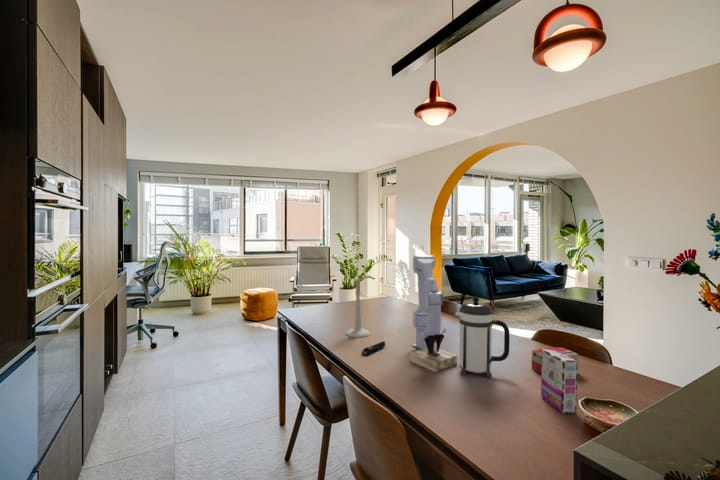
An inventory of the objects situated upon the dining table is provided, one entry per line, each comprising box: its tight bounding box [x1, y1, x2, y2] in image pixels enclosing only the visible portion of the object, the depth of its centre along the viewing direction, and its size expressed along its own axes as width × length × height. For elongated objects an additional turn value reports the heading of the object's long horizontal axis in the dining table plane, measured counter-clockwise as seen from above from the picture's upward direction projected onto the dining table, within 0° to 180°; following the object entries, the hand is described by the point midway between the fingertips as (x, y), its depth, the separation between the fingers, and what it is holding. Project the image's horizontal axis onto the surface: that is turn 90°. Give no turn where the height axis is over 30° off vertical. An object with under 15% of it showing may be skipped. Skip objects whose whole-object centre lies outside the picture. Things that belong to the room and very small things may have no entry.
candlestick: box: [345, 278, 371, 339], centre depth 185 cm, size 13×13×30 cm
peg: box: [429, 340, 437, 357], centre depth 146 cm, size 3×3×7 cm
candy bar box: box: [540, 348, 579, 414], centre depth 111 cm, size 11×5×16 cm, turn 5°
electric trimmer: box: [361, 340, 386, 357], centre depth 160 cm, size 4×16×3 cm, turn 141°
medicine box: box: [531, 346, 579, 374], centre depth 138 cm, size 15×8×8 cm, turn 105°
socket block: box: [409, 348, 458, 373], centre depth 146 cm, size 14×14×4 cm
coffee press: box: [455, 296, 510, 379], centre depth 137 cm, size 17×16×30 cm
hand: (433, 352), depth 146 cm, fingers closed on peg, 3 cm apart
